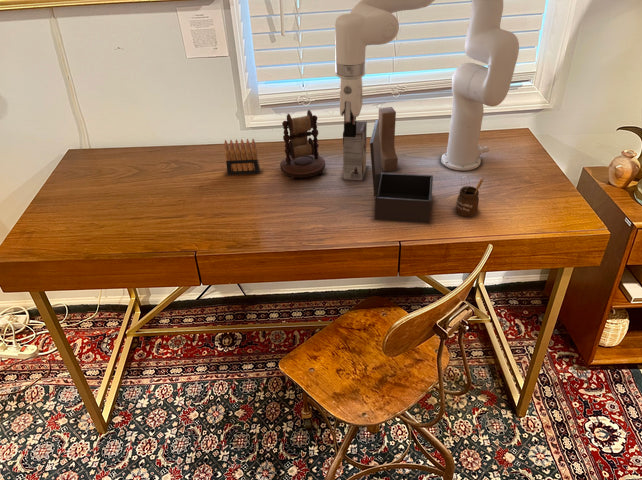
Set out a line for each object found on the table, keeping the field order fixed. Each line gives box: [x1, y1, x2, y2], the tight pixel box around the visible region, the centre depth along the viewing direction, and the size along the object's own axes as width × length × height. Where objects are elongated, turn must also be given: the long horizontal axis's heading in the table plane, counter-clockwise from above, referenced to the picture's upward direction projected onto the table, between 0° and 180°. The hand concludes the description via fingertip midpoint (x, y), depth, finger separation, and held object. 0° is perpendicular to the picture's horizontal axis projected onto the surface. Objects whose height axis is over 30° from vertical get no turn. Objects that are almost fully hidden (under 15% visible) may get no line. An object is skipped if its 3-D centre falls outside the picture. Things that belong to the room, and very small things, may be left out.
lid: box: [369, 119, 383, 198], centre depth 152 cm, size 16×14×1 cm
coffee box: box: [342, 120, 368, 181], centre depth 172 cm, size 9×6×16 cm
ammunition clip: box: [224, 138, 261, 176], centre depth 177 cm, size 11×2×12 cm, turn 90°
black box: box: [374, 172, 434, 224], centre depth 158 cm, size 15×14×7 cm
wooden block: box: [377, 106, 399, 172], centre depth 175 cm, size 9×4×18 cm, turn 10°
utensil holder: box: [455, 174, 485, 218], centre depth 153 cm, size 6×6×12 cm
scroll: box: [279, 109, 326, 181], centre depth 174 cm, size 15×15×20 cm
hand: (350, 135), depth 149 cm, fingers closed
